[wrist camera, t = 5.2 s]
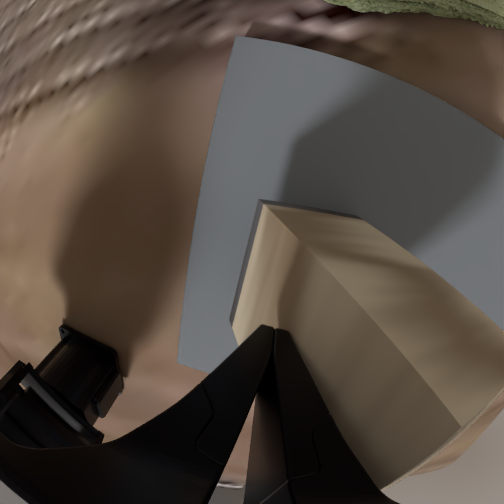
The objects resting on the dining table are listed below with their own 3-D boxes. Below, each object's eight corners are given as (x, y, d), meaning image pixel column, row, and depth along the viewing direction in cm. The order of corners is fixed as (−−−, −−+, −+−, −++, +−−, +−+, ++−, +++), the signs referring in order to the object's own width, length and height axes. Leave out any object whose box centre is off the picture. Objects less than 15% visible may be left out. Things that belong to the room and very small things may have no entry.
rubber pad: (182, 351, 20) (177, 362, 19) (241, 42, 11) (235, 35, 10) (435, 402, 19) (438, 412, 18) (552, 187, 10) (563, 191, 9)
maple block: (228, 319, 14) (312, 523, 5) (258, 198, 11) (461, 427, 3) (316, 316, 15) (420, 467, 7) (356, 215, 13) (529, 357, 5)
